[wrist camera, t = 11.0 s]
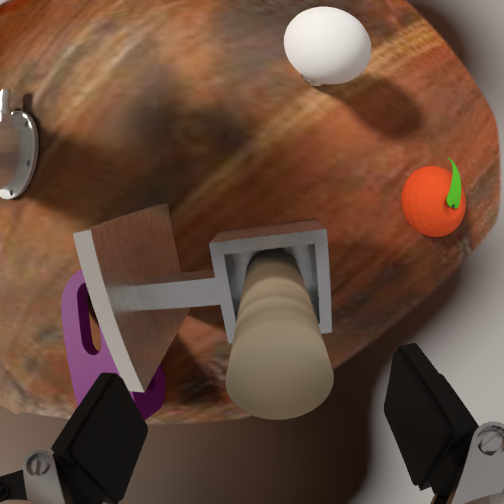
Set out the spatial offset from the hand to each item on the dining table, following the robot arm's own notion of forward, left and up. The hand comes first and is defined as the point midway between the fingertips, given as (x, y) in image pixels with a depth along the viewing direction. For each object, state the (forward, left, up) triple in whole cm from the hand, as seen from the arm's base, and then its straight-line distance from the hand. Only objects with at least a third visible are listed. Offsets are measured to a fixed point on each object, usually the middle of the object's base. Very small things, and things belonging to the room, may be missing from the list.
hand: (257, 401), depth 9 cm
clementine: (-4, +17, -22) cm, 28 cm away
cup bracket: (0, -3, -21) cm, 22 cm away
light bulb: (-17, +7, -21) cm, 28 cm away
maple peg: (0, +1, -13) cm, 13 cm away
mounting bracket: (+9, -21, -22) cm, 31 cm away
